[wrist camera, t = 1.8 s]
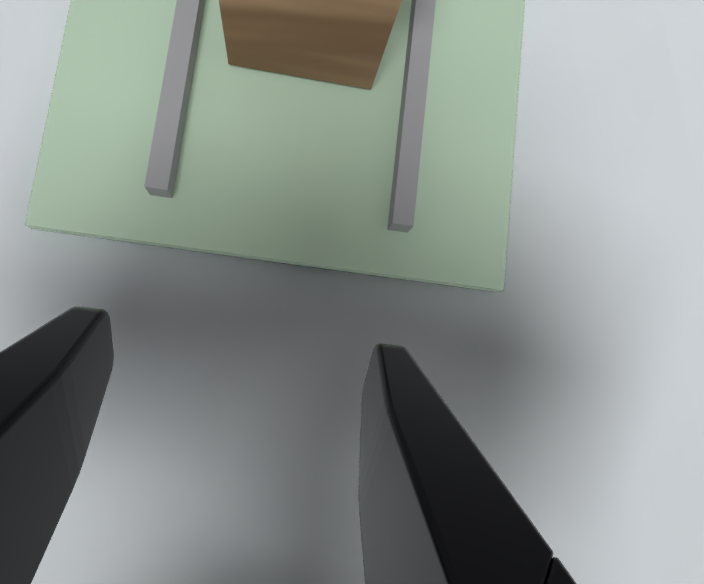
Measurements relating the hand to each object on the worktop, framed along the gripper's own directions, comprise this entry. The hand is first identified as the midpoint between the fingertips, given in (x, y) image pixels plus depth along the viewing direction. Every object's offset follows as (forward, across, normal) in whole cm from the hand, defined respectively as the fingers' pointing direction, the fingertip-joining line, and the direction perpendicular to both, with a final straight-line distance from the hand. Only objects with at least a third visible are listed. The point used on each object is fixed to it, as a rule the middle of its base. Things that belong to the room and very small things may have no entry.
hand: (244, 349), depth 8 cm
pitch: (+21, 0, -1) cm, 21 cm away
